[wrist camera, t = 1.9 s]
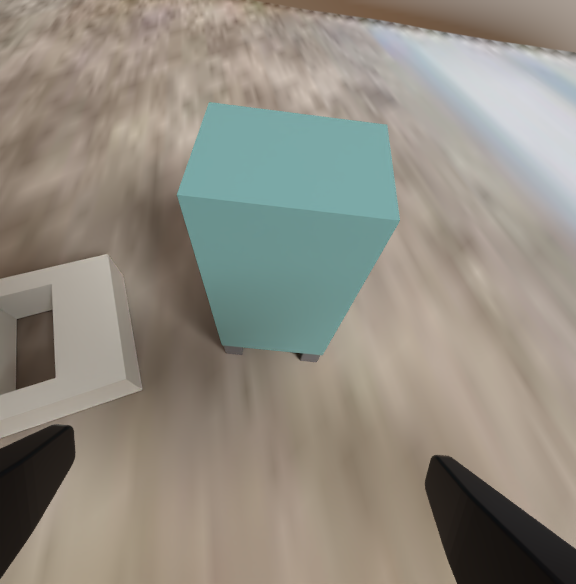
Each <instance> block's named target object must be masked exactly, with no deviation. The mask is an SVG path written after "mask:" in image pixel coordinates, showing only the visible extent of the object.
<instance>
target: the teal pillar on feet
mask: <svg viewBox="0 0 576 584" xmlns="http://www.w3.org/2000/svg"><path fill="white" fill-rule="evenodd" d="M177 197H178V200H179V204H180V207H181V210H182V214H183V217H184V220H185V224H186V227H187V230H188V234H189V237H190V240H191V244H192V247H193V250H194V254H195V257H196V260H197V264H198V267H199V270H200V274H201V277H202V280H203V284H204V287H205V290H206V294H207V297H208V300H209V304H210V307H211V310H212V314H213V317H214V320H215V324H216V327H217V330H218V334H219V337H220V340H221V344H222V345H224V348H225V352H226V353H229V354H239V355H242V353H243V347H244V348H254V349H264V350H274V351H284V352H294V353H301V361H310V362H317V361H318V359H319V357H320V355H323V353H324V351H325V350H326V348H327V346H328V345H329V343H330V341H331V339H332V338H333V336H334V334H335V332H336V331H337V329H338V327H339V325H340V324H341V322H342V320H343V319H344V317H345V315H346V313H347V312H348V310H349V308H350V306H351V305H352V303H353V301H354V299H355V298H356V296H357V294H358V292H359V291H360V289H361V287H362V286H363V284H364V282H365V280H366V279H367V277H368V275H369V273H370V272H371V270H372V268H373V266H374V265H375V263H376V261H377V260H378V258H379V256H380V254H381V253H382V251H383V249H384V247H385V246H386V244H387V242H388V240H389V239H390V237H391V235H392V234H393V232H394V230H395V228H396V227H397V225H398V223H399V221H400V218H399V210H398V203H397V195H396V188H395V180H394V173H393V165H392V158H391V150H390V143H389V135H388V128H387V125H384V124H377V123H369V122H361V121H353V120H345V119H337V118H329V117H321V116H314V115H306V114H298V113H290V112H282V111H274V110H266V109H258V108H251V107H243V106H235V105H227V104H219V103H211V102H209V104H208V107H207V110H206V113H205V116H204V118H203V121H202V124H201V127H200V130H199V133H198V136H197V138H196V141H195V144H194V147H193V150H192V153H191V156H190V159H189V161H188V164H187V167H186V170H185V173H184V176H183V179H182V182H181V184H180V187H179V190H178V193H177Z"/></svg>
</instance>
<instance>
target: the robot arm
mask: <svg viewBox="0 0 576 584" xmlns="http://www.w3.org/2000/svg"><path fill="white" fill-rule="evenodd" d="M74 459H75V440H74V429H73V428H72V426H69V425H59V424H55V425H51V426H49V427H47V428H44V429H42V430H40V431H38V432H36V433H34V434H31V435H29V436H27V437H25V438H23V439H21V440H18V441H16V442H14V443H12V444H10V445H8V446H5V447H3V448H1V449H0V579H1V577H2V576H3V574H4V573H5V572H6V570H7V569H8V567H9V566H10V564H11V563H12V562H13V560H14V559H15V557H16V556H17V554H18V553H19V552H20V550H21V549H22V547H23V546H24V544H25V543H26V541H27V540H28V538H29V537H30V535H31V534H32V532H33V531H34V529H35V527H36V526H37V524H38V523H39V521H40V519H41V518H42V516H43V514H44V512H45V511H46V509H47V507H48V505H49V504H50V502H51V500H52V499H53V497H54V495H55V493H56V492H57V490H58V488H59V487H60V485H61V483H62V481H63V480H64V478H65V476H66V475H67V473H68V471H69V469H70V468H71V466H72V464H73V462H74ZM425 489H426V493H427V496H428V500H429V503H430V506H431V509H432V512H433V515H434V519H435V522H436V525H437V528H438V531H439V535H440V538H441V541H442V544H443V547H444V550H445V553H446V556H447V559H448V562H449V565H450V567H451V570H452V572H453V575H454V577H455V580H456V582H457V584H576V549H575V548H574V547H572V546H571V545H570V544H568V543H567V542H566V541H564V540H563V539H561V538H560V537H559V536H557V535H556V534H555V533H553V532H552V531H551V530H549V529H548V528H547V527H545V526H544V525H542V524H541V523H540V522H538V521H537V520H536V519H534V518H533V517H532V516H530V515H529V514H528V513H526V512H525V511H524V510H522V509H521V508H519V507H518V506H517V505H515V504H514V503H513V502H511V501H510V500H509V499H507V498H506V497H505V496H503V495H502V494H500V493H499V492H498V491H496V490H495V489H494V488H492V487H491V486H490V485H488V484H487V483H486V482H484V481H483V480H481V479H480V478H479V477H477V476H476V475H475V474H473V473H472V472H471V471H469V470H468V469H467V468H465V467H464V466H463V465H461V464H460V463H458V462H457V461H456V460H454V459H453V458H452V457H450V456H444V455H434V456H432V458H431V460H430V464H429V468H428V471H427V475H426V479H425Z"/></svg>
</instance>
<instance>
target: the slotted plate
mask: <svg viewBox="0 0 576 584" xmlns="http://www.w3.org/2000/svg"><path fill="white" fill-rule="evenodd" d="M49 310H53V326H54V348H55V370H56V378H54V379H50V380H47V381H44V382H41V383H38V384H34V385H31V386H28V387H25V388H21V389H18V390H16V340H17V319H19V318H23V317H27V316H30V315H34V314H38V313H42V312H46V311H49ZM141 390H142V384H141V378H140V372H139V366H138V360H137V354H136V348H135V342H134V336H133V330H132V324H131V318H130V312H129V306H128V300H127V294H126V288H125V282H124V276H123V274H122V273H121V272H120V270H119V269H118V267H117V266H116V265H115V263H114V262H113V260H112V259H111V258H110V256H109V255H108V254H105V255H101V256H96V257H92V258H88V259H83V260H79V261H75V262H71V263H66V264H62V265H58V266H53V267H49V268H45V269H40V270H36V271H32V272H28V273H23V274H19V275H15V276H10V277H6V278H2V279H0V438H2V437H5V436H8V435H11V434H14V433H17V432H20V431H23V430H26V429H29V428H32V427H35V426H38V425H41V424H44V423H46V422H49V421H52V420H55V419H58V418H61V417H64V416H67V415H70V414H73V413H76V412H79V411H82V410H85V409H88V408H91V407H94V406H96V405H99V404H102V403H105V402H108V401H111V400H114V399H117V398H120V397H123V396H126V395H129V394H132V393H135V392H138V391H141Z"/></svg>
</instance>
